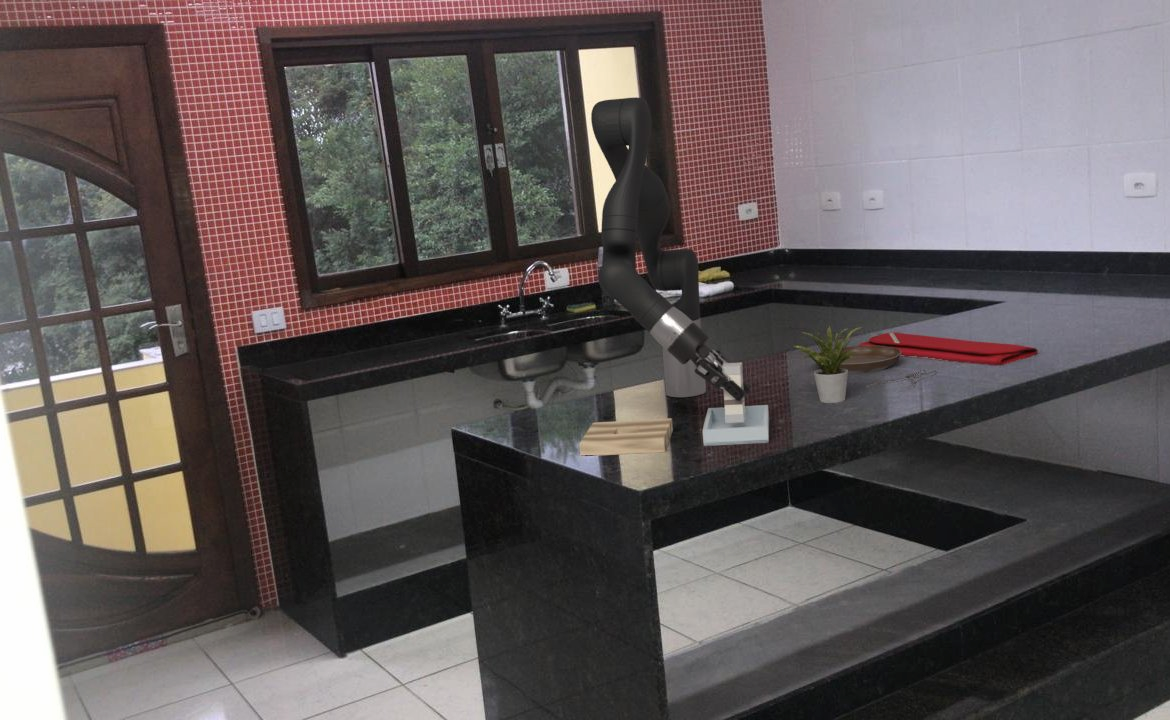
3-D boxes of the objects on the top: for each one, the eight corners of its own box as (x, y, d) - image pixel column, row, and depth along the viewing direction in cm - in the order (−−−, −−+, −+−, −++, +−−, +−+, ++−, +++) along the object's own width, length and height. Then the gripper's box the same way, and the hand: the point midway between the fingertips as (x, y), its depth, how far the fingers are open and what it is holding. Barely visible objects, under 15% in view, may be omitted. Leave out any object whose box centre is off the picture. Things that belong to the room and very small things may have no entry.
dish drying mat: (999, 368, 243) (998, 352, 242) (856, 354, 276) (856, 339, 275) (1038, 356, 252) (1038, 340, 251) (895, 343, 285) (895, 330, 284)
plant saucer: (849, 380, 245) (848, 365, 245) (797, 368, 264) (796, 355, 264) (920, 365, 253) (919, 351, 253) (864, 355, 272) (863, 342, 271)
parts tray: (709, 422, 217) (708, 408, 217) (769, 419, 215) (767, 404, 215) (703, 445, 200) (702, 430, 199) (768, 442, 198) (767, 427, 197)
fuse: (727, 418, 209) (723, 363, 207) (746, 417, 208) (742, 362, 206) (725, 422, 206) (721, 366, 204) (744, 422, 205) (740, 365, 203)
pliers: (862, 387, 233) (896, 369, 249) (862, 391, 233) (896, 372, 249) (905, 389, 227) (937, 370, 243) (906, 393, 227) (937, 374, 243)
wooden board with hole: (594, 434, 217) (593, 422, 216) (672, 430, 214) (671, 418, 213) (580, 456, 201) (579, 443, 201) (665, 452, 198) (663, 439, 198)
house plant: (845, 388, 236) (841, 315, 233) (884, 398, 223) (880, 321, 220) (789, 399, 231) (784, 324, 228) (825, 409, 218) (821, 331, 215)
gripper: (681, 327, 200) (750, 389, 198) (699, 315, 213) (764, 373, 211) (656, 355, 203) (724, 417, 200) (676, 342, 216) (740, 400, 213)
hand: (744, 394), depth 206 cm, fingers closed on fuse, 3 cm apart
